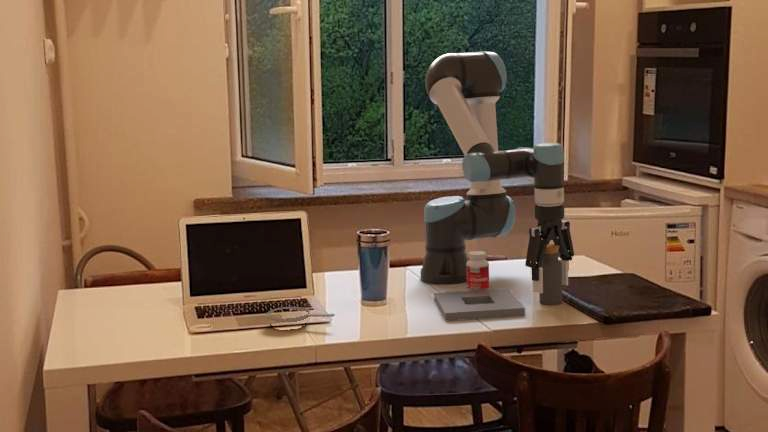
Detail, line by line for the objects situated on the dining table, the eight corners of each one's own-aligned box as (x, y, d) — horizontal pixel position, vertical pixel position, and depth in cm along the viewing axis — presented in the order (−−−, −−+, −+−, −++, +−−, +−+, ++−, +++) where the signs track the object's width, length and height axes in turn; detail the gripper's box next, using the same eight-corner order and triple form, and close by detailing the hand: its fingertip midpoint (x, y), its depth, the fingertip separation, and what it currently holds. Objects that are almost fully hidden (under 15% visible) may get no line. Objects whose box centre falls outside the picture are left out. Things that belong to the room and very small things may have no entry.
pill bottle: (468, 295, 270) (467, 255, 268) (465, 289, 276) (464, 250, 274) (491, 294, 270) (490, 254, 268) (487, 288, 276) (486, 249, 274)
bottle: (562, 305, 256) (561, 248, 253) (539, 304, 257) (538, 248, 254) (562, 299, 262) (561, 243, 259) (540, 299, 263) (539, 243, 260)
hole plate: (445, 321, 246) (445, 313, 246) (434, 300, 266) (434, 293, 266) (524, 315, 248) (524, 307, 248) (508, 295, 268) (507, 288, 267)
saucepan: (279, 318, 256) (278, 304, 255) (343, 323, 249) (343, 308, 248) (259, 330, 246) (258, 315, 245) (325, 335, 239) (324, 320, 238)
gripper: (532, 211, 245) (534, 299, 249) (587, 199, 259) (588, 282, 263) (509, 208, 250) (511, 294, 254) (564, 196, 265) (565, 278, 269)
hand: (550, 288), depth 259 cm, fingers open, 10 cm apart
